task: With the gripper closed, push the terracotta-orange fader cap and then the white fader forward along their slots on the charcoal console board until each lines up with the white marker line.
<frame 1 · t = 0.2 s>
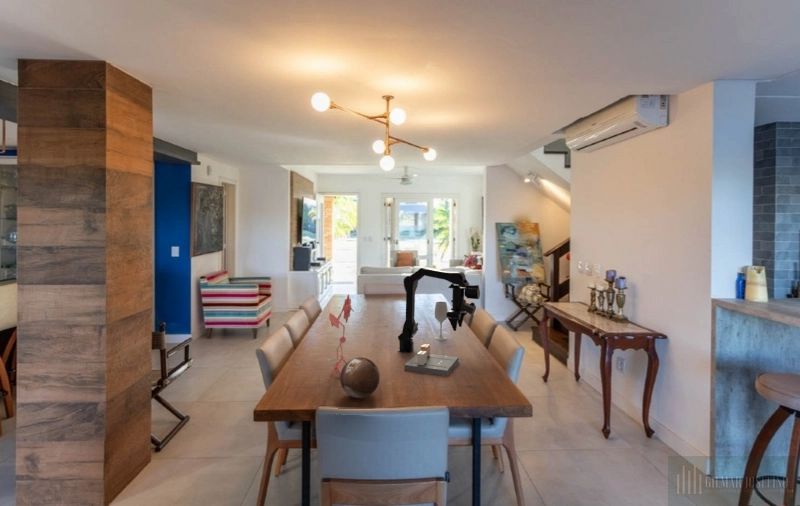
hand: (457, 328, 214), 14 cm above the table, tool pointing down, fingers open, 9 cm apart
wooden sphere: (360, 396, 167), on the table
figurine: (348, 372, 194), on the table
orange fader: (425, 350, 208), point 5 cm above the table, slide at 3.0 cm
wineglass: (440, 338, 250), on the table
white fader: (421, 357, 197), point 5 cm above the table, slide at 5.0 cm
console board: (432, 366, 202), on the table
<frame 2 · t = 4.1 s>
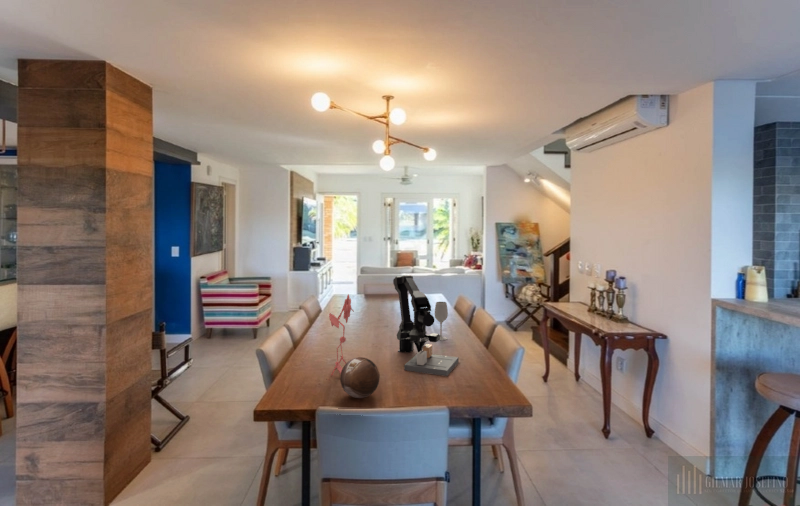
hand: (419, 353, 209), 4 cm above the table, tool pointing down, fingers closed
orange fader: (427, 350, 208), point 5 cm above the table, slide at 4.1 cm, touching gripper
everything else where it was.
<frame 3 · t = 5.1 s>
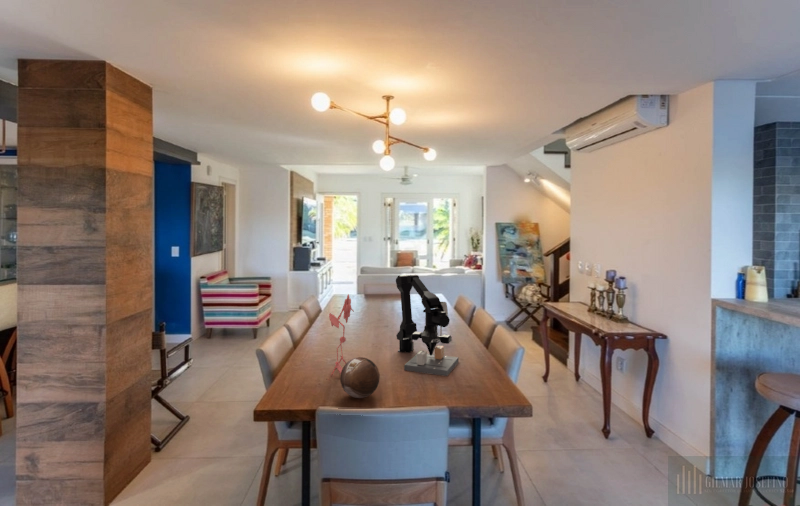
hand: (431, 355, 207), 4 cm above the table, tool pointing down, fingers closed
orange fader: (439, 352, 206), point 6 cm above the table, slide at 9.9 cm, touching gripper
everything else where it was.
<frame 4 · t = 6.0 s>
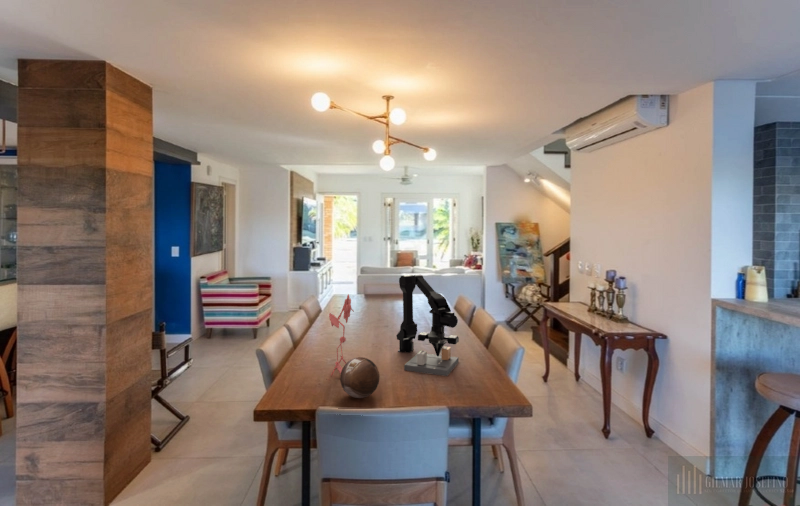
hand: (437, 356, 206), 4 cm above the table, tool pointing down, fingers closed
orange fader: (446, 352, 204), point 5 cm above the table, slide at 13.3 cm, touching gripper
everything else where it was.
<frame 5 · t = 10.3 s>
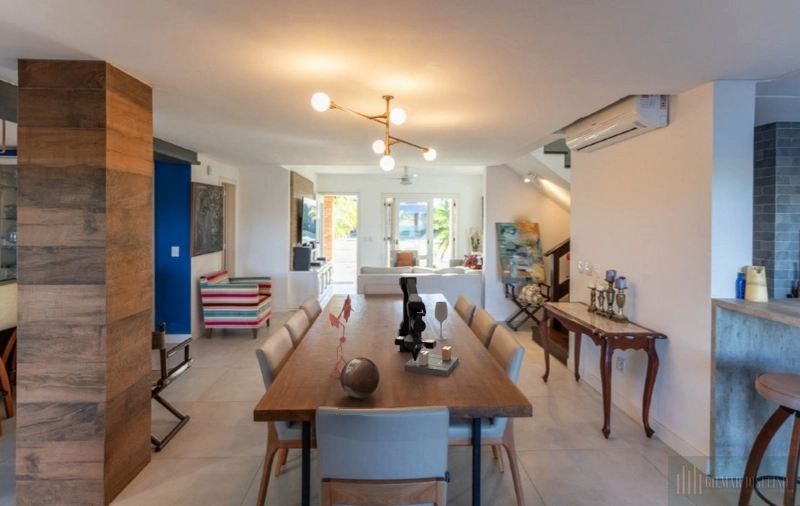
hand: (415, 360, 198), 4 cm above the table, tool pointing down, fingers closed
orange fader: (446, 353, 204), point 5 cm above the table, slide at 13.5 cm
white fader: (423, 357, 197), point 5 cm above the table, slide at 5.8 cm, touching gripper
everything else where it was.
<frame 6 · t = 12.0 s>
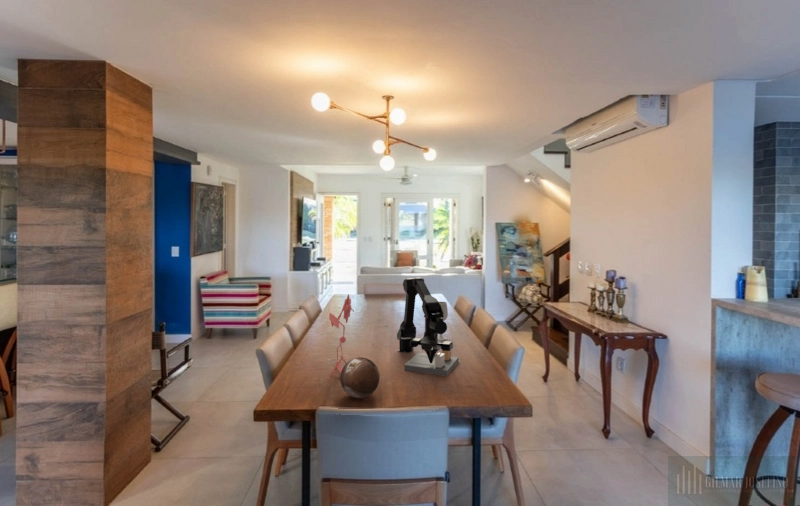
hand: (431, 363, 196), 4 cm above the table, tool pointing down, fingers closed
white fader: (439, 359, 194), point 5 cm above the table, slide at 13.5 cm, touching gripper
everything else where it was.
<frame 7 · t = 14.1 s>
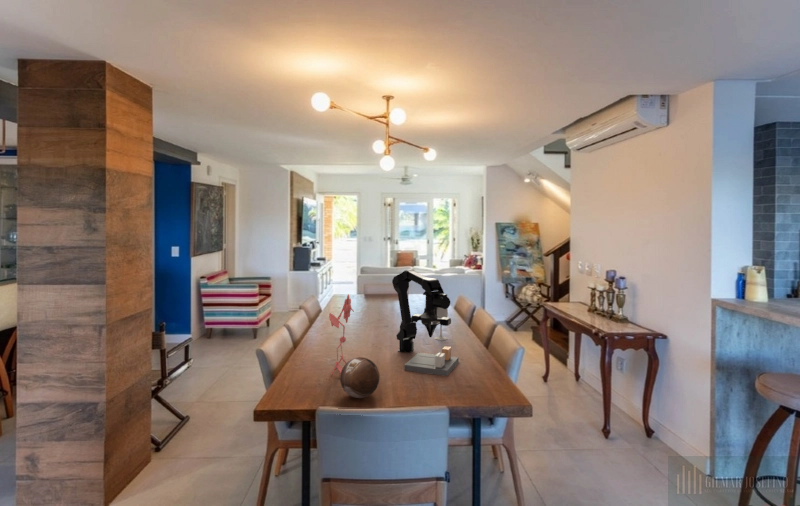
hand: (430, 337, 209), 12 cm above the table, tool pointing down, fingers closed
white fader: (439, 359, 194), point 5 cm above the table, slide at 13.5 cm
everything else where it was.
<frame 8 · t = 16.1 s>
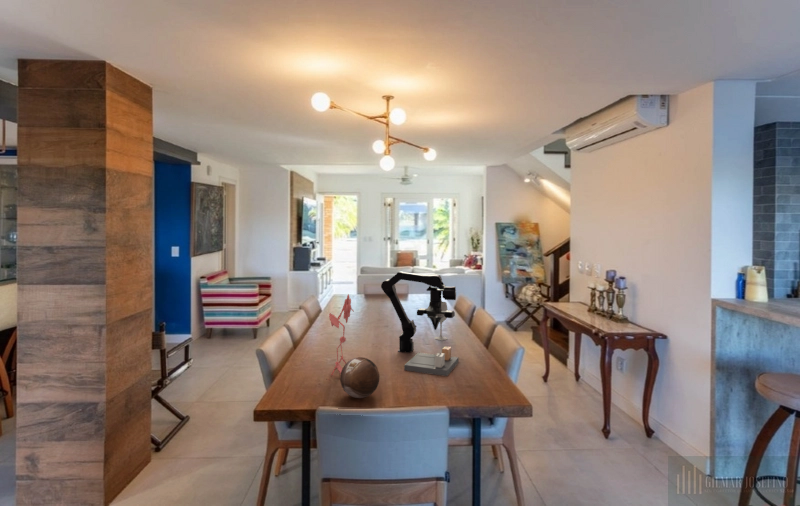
hand: (435, 329, 222), 12 cm above the table, tool pointing down, fingers closed
nothing on the table moved.
at the end: orange fader slide at 13.5 cm; white fader slide at 13.5 cm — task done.
